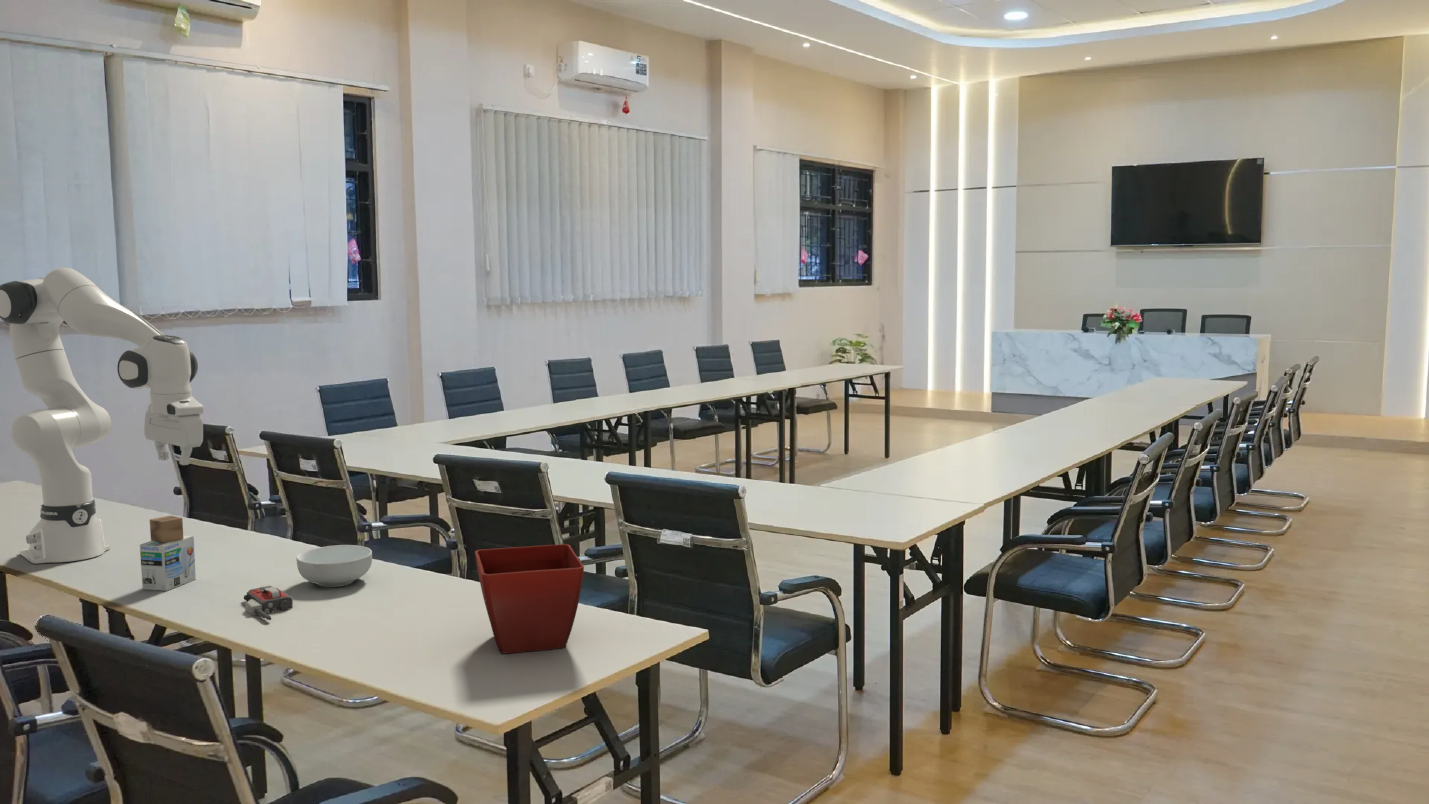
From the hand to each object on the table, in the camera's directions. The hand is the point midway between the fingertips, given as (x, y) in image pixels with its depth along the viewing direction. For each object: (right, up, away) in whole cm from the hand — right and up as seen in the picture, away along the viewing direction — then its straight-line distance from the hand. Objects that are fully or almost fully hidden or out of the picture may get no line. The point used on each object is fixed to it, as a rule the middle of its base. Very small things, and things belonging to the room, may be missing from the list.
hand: (173, 462), depth 258 cm
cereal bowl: (+39, -29, -2) cm, 49 cm away
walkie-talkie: (+32, -31, -23) cm, 50 cm away
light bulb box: (+1, -29, -3) cm, 29 cm away
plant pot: (+92, -33, -44) cm, 108 cm away
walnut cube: (+1, -18, -4) cm, 18 cm away
